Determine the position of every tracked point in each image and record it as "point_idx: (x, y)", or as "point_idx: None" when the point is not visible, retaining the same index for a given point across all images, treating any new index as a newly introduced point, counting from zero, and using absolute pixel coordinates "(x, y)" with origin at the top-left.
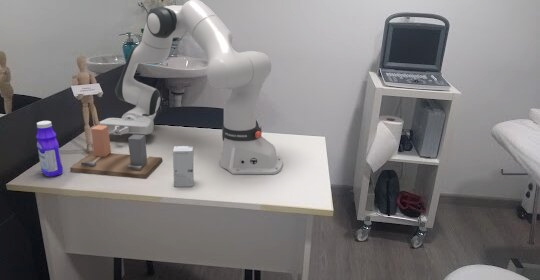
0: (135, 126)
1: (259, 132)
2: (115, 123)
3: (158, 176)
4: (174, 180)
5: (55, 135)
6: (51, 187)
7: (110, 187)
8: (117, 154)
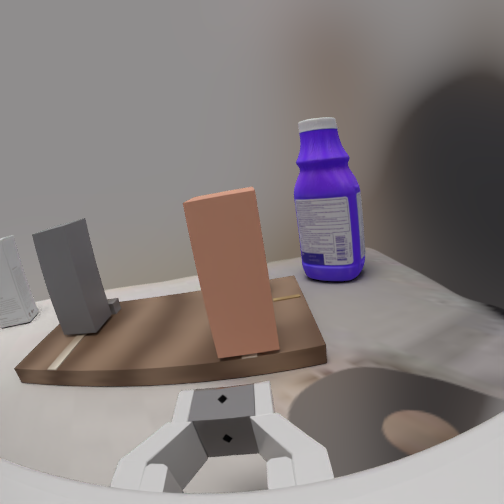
0: (20, 466)
1: None
2: (371, 485)
3: (54, 328)
4: (32, 298)
5: (297, 161)
6: (278, 261)
7: (155, 288)
8: (181, 360)
